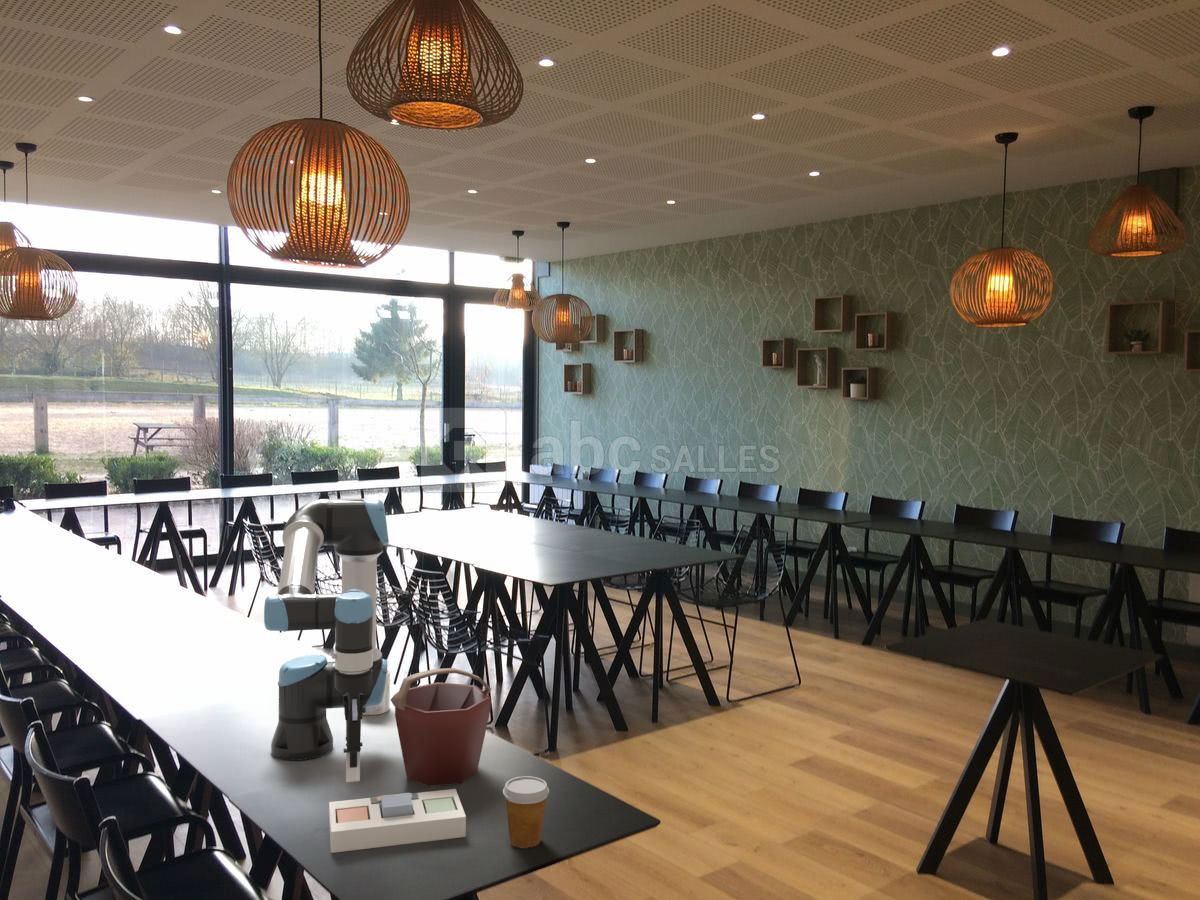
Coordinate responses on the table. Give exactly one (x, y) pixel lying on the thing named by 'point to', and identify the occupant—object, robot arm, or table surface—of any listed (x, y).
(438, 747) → the bucket
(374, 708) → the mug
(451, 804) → the sage key
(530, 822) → the disposable coffee cup
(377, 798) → the keypad
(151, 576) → the table surface
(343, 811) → the terracotta key
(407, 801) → the slate key
